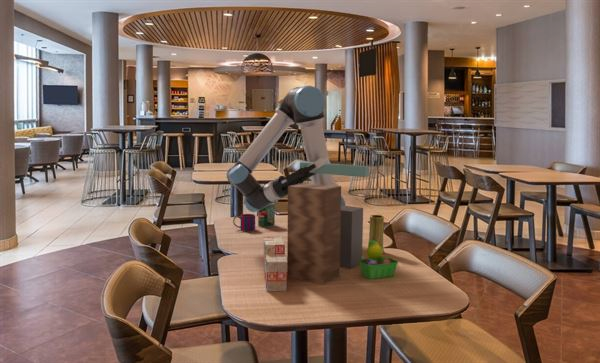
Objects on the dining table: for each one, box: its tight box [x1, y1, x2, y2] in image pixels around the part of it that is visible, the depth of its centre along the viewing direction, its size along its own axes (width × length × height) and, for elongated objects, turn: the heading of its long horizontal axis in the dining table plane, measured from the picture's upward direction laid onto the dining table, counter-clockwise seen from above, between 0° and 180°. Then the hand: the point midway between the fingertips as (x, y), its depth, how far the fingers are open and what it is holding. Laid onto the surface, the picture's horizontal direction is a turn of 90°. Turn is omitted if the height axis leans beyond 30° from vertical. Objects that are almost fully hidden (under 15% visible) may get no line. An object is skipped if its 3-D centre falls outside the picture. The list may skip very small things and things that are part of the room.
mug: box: [232, 213, 256, 232], centre depth 246 cm, size 7×10×7 cm
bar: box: [299, 161, 370, 178], centre depth 190 cm, size 26×4×4 cm, turn 59°
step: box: [340, 205, 364, 269], centre depth 191 cm, size 12×9×20 cm
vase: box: [368, 214, 385, 254], centre depth 207 cm, size 6×6×14 cm
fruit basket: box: [359, 240, 399, 280], centre depth 178 cm, size 11×9×11 cm
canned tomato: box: [257, 202, 276, 228], centre depth 255 cm, size 8×8×11 cm
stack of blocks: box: [263, 236, 288, 292], centre depth 171 cm, size 21×6×12 cm, turn 6°
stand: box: [286, 182, 342, 285], centre depth 174 cm, size 14×10×30 cm
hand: (325, 161), depth 192 cm, fingers closed on bar, 3 cm apart
